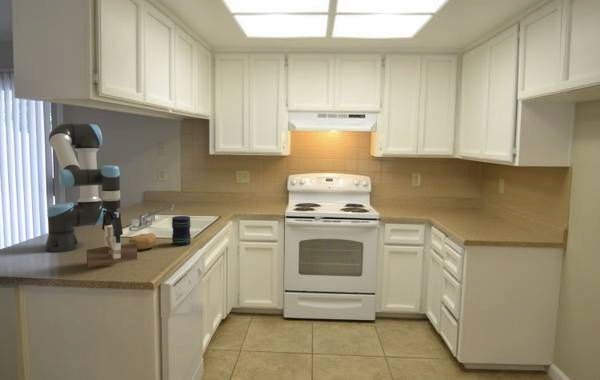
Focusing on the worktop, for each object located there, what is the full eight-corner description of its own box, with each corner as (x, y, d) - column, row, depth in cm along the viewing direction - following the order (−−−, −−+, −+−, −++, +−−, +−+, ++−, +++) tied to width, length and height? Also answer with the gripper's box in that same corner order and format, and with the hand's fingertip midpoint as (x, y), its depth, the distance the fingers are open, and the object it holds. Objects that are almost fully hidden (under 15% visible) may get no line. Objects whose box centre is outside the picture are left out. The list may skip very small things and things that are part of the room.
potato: (126, 249, 213) (125, 234, 212) (153, 245, 222) (152, 231, 221) (132, 253, 206) (132, 237, 205) (159, 249, 215) (159, 234, 214)
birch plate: (105, 254, 191) (104, 225, 189) (111, 253, 193) (110, 224, 191) (114, 259, 184) (113, 228, 182) (120, 258, 186) (119, 227, 185)
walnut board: (87, 267, 182) (86, 249, 181) (135, 258, 198) (135, 241, 197) (88, 268, 180) (88, 250, 180) (137, 258, 196) (136, 242, 195)
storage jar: (193, 242, 231) (193, 216, 229) (186, 246, 221) (186, 219, 219) (176, 241, 232) (176, 215, 230) (169, 245, 222) (168, 218, 220)
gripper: (93, 197, 191) (94, 244, 193) (112, 203, 175) (114, 253, 178) (109, 196, 196) (111, 241, 199) (130, 201, 181) (131, 250, 183)
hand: (112, 247), depth 188 cm, fingers closed on birch plate, 10 cm apart
